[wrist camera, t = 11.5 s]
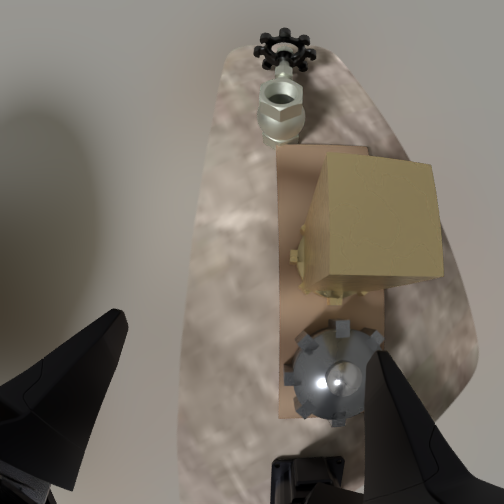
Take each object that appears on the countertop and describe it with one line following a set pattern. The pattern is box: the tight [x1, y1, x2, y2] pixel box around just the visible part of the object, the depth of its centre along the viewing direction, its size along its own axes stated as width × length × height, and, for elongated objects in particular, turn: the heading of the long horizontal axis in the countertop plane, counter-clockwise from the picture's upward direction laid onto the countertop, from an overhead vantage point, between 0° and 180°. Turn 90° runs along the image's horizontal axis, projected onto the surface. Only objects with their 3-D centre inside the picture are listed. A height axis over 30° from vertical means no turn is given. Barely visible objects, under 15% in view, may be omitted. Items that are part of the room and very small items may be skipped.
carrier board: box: [276, 144, 384, 419], centre depth 22 cm, size 24×9×1 cm, turn 0°
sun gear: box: [283, 318, 385, 427], centre depth 19 cm, size 8×8×4 cm
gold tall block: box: [289, 152, 444, 305], centre depth 16 cm, size 7×7×12 cm
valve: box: [253, 28, 316, 150], centre depth 23 cm, size 7×7×12 cm
